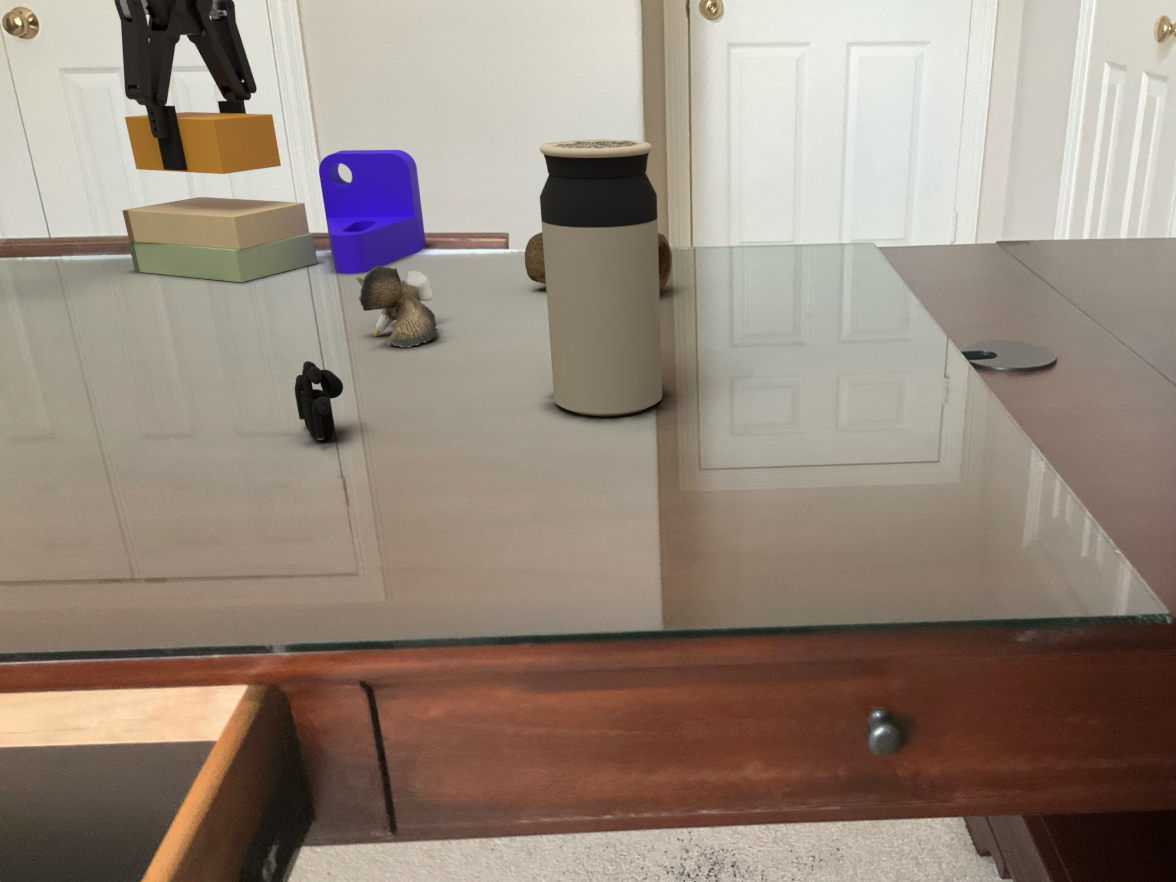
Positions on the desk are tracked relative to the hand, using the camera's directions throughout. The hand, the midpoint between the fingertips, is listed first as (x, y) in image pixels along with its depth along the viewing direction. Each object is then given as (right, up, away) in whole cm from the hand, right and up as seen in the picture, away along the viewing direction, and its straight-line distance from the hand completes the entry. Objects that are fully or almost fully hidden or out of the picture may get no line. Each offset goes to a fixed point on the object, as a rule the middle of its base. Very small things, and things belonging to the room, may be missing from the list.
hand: (208, 165), depth 122 cm
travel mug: (+50, -32, -42) cm, 73 cm away
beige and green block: (0, -10, +5) cm, 11 cm away
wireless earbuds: (+31, -35, -49) cm, 68 cm away
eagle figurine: (+29, -24, -24) cm, 44 cm away
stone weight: (+45, -16, -8) cm, 49 cm away
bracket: (+15, -8, +10) cm, 20 cm away
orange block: (0, 0, 0) cm, 0 cm away
